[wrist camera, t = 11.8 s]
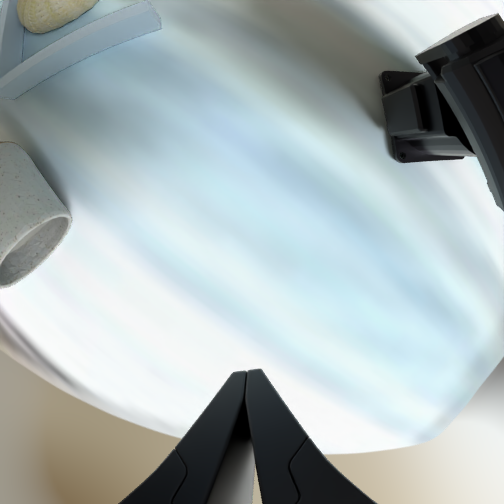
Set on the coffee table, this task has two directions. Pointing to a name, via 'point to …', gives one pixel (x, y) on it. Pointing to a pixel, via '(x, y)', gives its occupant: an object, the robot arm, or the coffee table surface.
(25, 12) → the sea urchin shell
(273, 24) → the coffee table surface
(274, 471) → the robot arm
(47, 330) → the coffee table surface
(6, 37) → the corral
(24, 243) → the ceramic mug
